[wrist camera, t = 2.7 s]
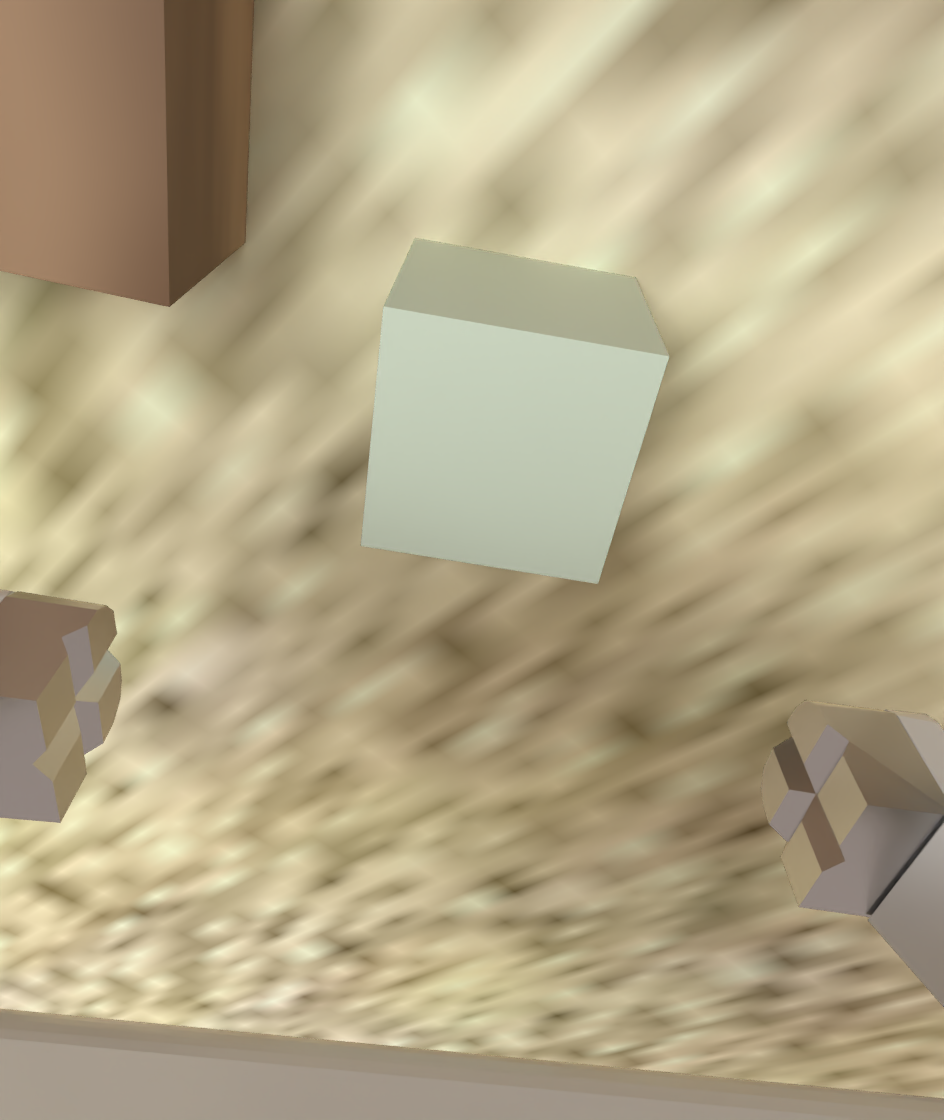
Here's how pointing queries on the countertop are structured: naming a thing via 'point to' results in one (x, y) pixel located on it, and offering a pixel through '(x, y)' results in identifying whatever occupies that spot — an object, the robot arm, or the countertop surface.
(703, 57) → the countertop surface
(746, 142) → the countertop surface
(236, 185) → the walnut block
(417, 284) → the sage cube
